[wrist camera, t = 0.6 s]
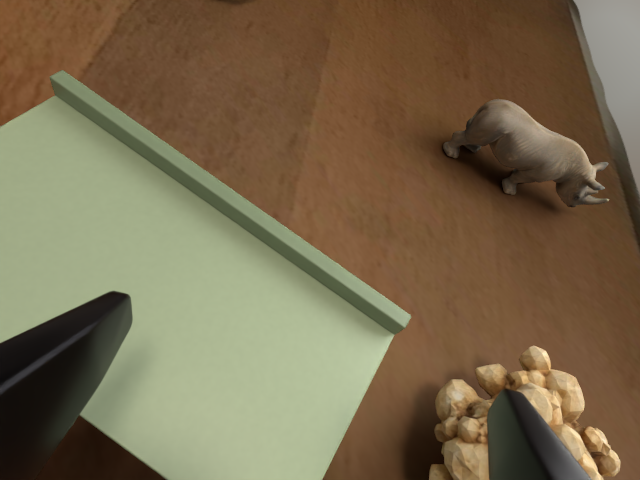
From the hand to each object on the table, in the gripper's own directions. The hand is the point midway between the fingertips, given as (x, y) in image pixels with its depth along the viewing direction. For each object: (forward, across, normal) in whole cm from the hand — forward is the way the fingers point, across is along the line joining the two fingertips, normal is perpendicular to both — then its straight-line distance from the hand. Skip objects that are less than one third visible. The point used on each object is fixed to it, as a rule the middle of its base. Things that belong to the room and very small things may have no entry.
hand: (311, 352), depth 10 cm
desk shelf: (+8, +8, +10) cm, 15 cm away
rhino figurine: (+29, -14, +5) cm, 32 cm away
